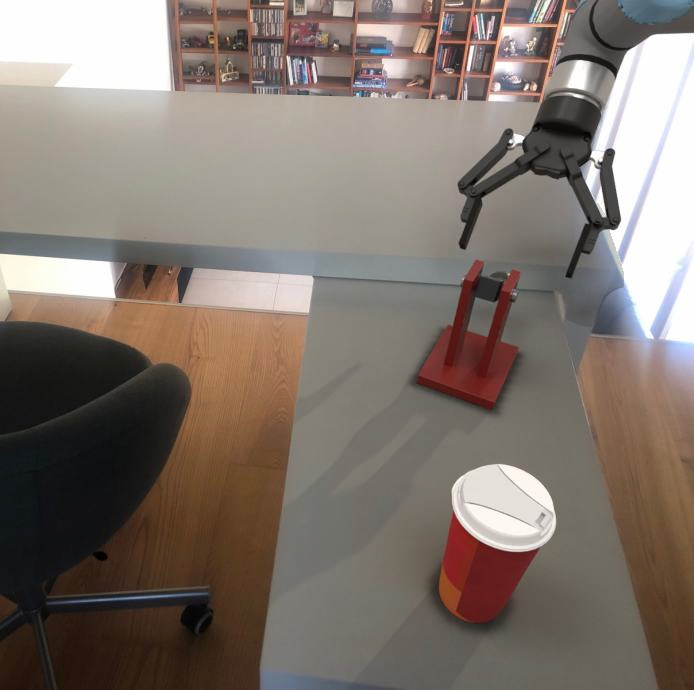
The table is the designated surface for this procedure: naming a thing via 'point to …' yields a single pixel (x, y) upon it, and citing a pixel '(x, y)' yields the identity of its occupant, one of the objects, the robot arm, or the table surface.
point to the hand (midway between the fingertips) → (513, 261)
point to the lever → (491, 286)
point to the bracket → (473, 348)
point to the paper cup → (492, 539)
